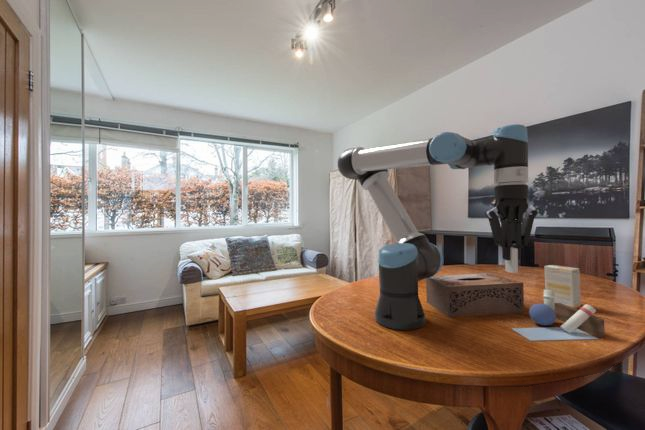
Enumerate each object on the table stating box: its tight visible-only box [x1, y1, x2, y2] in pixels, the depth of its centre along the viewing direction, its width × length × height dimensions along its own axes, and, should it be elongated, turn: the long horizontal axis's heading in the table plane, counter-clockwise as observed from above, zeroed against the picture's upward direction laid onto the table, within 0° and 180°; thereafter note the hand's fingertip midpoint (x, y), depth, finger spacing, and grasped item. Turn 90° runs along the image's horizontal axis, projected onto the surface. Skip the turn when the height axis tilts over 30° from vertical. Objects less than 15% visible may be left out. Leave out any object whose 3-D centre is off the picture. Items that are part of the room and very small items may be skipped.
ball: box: [528, 303, 557, 327], centre depth 77 cm, size 6×6×6 cm
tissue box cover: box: [425, 272, 525, 318], centre depth 93 cm, size 26×14×10 cm, turn 94°
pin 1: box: [542, 289, 556, 324], centre depth 79 cm, size 2×2×9 cm
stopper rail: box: [554, 303, 606, 338], centre depth 75 cm, size 2×13×4 cm, turn 0°
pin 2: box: [559, 303, 597, 334], centre depth 71 cm, size 2×2×9 cm
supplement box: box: [543, 264, 582, 309], centre depth 92 cm, size 8×5×13 cm, turn 22°
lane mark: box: [511, 326, 599, 342], centre depth 71 cm, size 17×7×1 cm, turn 90°
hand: (511, 271), depth 72 cm, fingers closed
